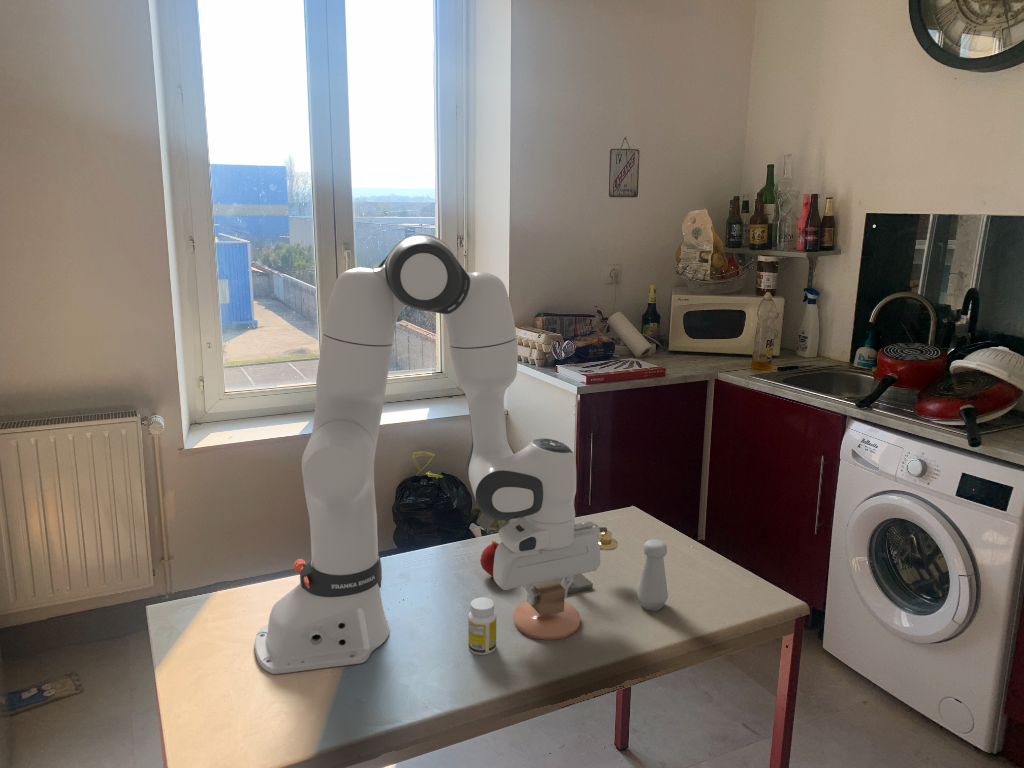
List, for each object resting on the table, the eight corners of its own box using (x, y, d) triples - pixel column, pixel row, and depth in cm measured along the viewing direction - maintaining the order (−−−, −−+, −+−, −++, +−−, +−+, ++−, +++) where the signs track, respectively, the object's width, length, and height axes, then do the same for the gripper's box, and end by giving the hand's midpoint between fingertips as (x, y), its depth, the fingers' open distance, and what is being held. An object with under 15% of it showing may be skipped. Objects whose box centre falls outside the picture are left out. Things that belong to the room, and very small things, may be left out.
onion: (510, 570, 152) (510, 535, 151) (507, 584, 147) (508, 547, 145) (482, 569, 153) (482, 533, 151) (478, 582, 147) (478, 545, 145)
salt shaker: (642, 594, 144) (646, 533, 141) (671, 602, 141) (675, 540, 138) (631, 607, 139) (635, 544, 136) (660, 616, 136) (665, 552, 133)
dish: (531, 646, 126) (532, 639, 126) (503, 611, 137) (503, 606, 136) (591, 630, 131) (592, 624, 131) (559, 598, 142) (559, 593, 141)
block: (530, 604, 134) (531, 582, 133) (552, 599, 136) (552, 577, 135) (541, 616, 130) (542, 593, 129) (563, 611, 132) (564, 588, 131)
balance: (525, 603, 140) (527, 535, 137) (511, 589, 145) (513, 523, 142) (621, 581, 149) (625, 517, 146) (606, 568, 154) (609, 506, 151)
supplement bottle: (490, 637, 129) (491, 594, 127) (500, 652, 124) (500, 607, 122) (464, 642, 127) (464, 598, 125) (473, 658, 123) (473, 612, 121)
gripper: (590, 513, 137) (587, 581, 140) (490, 531, 128) (488, 602, 132) (609, 526, 131) (605, 596, 135) (505, 546, 123) (503, 620, 126)
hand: (546, 599), depth 133 cm, fingers closed on block, 4 cm apart
